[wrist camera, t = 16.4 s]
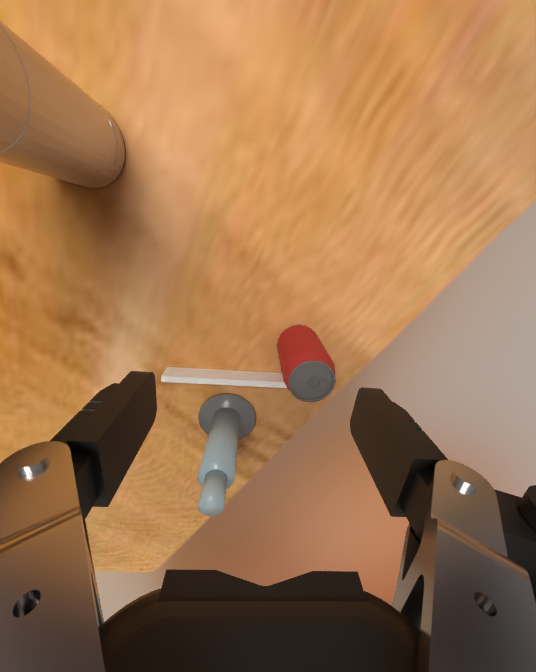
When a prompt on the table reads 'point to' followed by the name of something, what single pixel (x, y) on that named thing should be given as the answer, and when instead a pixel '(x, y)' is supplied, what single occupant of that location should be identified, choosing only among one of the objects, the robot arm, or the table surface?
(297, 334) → the beer can
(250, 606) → the robot arm
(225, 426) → the grey bottle
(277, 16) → the table surface
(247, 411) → the coaster
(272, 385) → the wall
